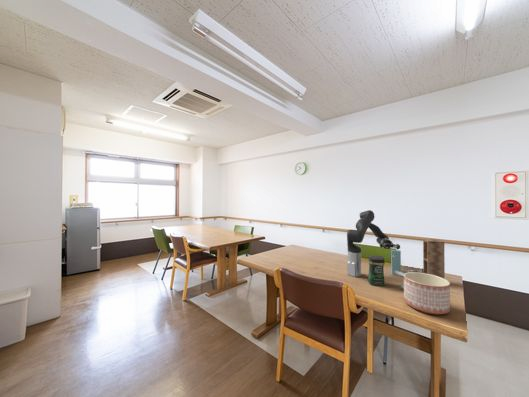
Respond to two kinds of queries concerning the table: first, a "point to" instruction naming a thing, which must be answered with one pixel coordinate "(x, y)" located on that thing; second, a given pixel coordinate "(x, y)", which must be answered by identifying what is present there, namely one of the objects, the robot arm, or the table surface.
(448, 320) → the table surface
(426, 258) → the cabinet
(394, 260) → the teal rectangular block
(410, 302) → the planter
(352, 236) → the robot arm
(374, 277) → the coffee jar
